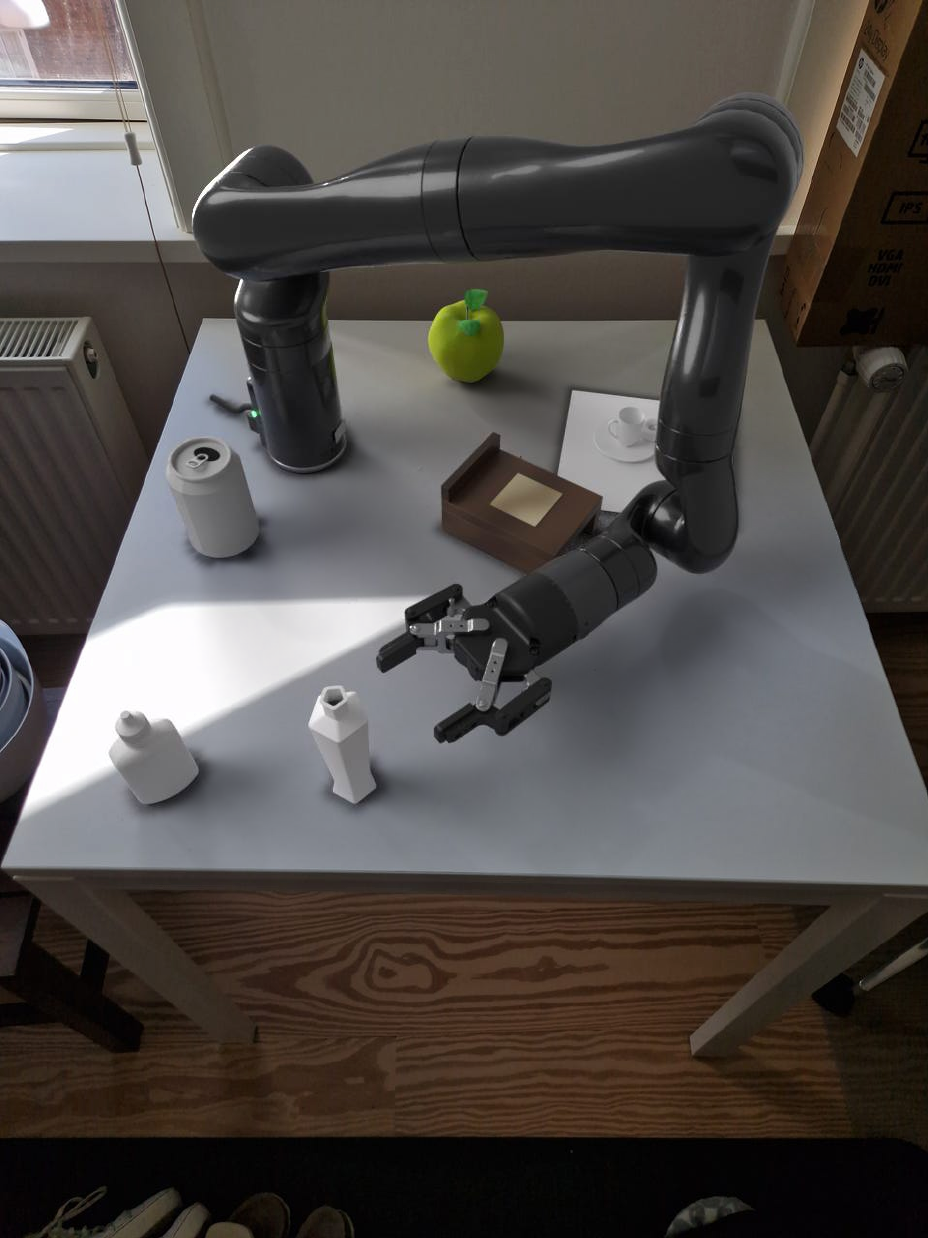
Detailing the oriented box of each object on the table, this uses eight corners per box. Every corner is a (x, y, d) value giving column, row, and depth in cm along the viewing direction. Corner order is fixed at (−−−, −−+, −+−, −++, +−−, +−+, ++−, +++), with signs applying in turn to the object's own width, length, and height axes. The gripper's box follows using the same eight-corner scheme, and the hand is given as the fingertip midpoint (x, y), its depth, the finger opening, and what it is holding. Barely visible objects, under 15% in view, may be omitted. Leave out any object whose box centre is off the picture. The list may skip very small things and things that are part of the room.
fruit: (508, 356, 112) (512, 287, 104) (492, 402, 107) (495, 333, 99) (441, 346, 113) (439, 277, 105) (422, 390, 108) (418, 321, 100)
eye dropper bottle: (138, 762, 77) (91, 694, 68) (201, 756, 78) (163, 687, 68) (133, 807, 75) (84, 743, 65) (198, 800, 75) (158, 735, 66)
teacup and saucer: (668, 424, 104) (674, 397, 101) (664, 469, 100) (671, 443, 96) (596, 415, 105) (600, 388, 102) (589, 459, 100) (594, 433, 97)
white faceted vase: (373, 811, 75) (355, 729, 63) (325, 802, 75) (298, 718, 63) (386, 764, 77) (372, 676, 65) (340, 756, 78) (317, 667, 66)
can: (274, 524, 95) (252, 442, 85) (236, 572, 91) (209, 492, 81) (217, 503, 96) (190, 421, 87) (178, 549, 92) (144, 468, 83)
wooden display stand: (441, 530, 94) (440, 485, 88) (491, 477, 99) (493, 431, 93) (551, 587, 89) (557, 543, 84) (597, 528, 94) (606, 482, 89)
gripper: (506, 532, 78) (356, 618, 72) (613, 634, 71) (457, 739, 65) (503, 583, 84) (364, 667, 78) (601, 682, 77) (457, 781, 71)
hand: (406, 699), depth 71 cm, fingers open, 8 cm apart
